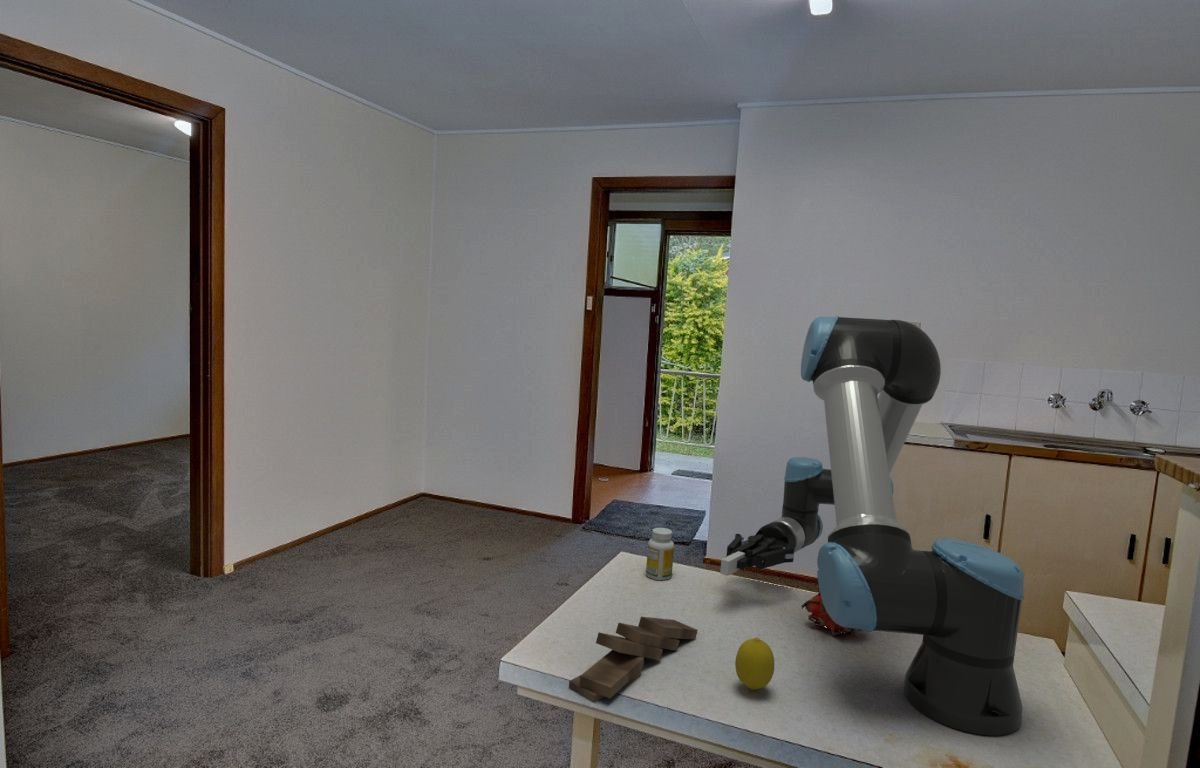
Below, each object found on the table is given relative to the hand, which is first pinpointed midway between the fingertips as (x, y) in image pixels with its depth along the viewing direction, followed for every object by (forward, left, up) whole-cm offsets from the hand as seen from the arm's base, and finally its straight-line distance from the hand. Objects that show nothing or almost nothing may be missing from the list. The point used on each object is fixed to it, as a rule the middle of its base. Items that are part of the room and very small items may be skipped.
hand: (724, 567), depth 126 cm
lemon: (-16, +20, -9) cm, 27 cm away
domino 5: (+1, +12, -8) cm, 14 cm away
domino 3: (+1, +28, -8) cm, 29 cm away
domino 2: (+1, +28, -7) cm, 29 cm away
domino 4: (+1, +17, -8) cm, 19 cm away
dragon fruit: (-18, -8, -9) cm, 22 cm away
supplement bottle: (+18, -6, -9) cm, 21 cm away
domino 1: (+1, +22, -8) cm, 24 cm away
